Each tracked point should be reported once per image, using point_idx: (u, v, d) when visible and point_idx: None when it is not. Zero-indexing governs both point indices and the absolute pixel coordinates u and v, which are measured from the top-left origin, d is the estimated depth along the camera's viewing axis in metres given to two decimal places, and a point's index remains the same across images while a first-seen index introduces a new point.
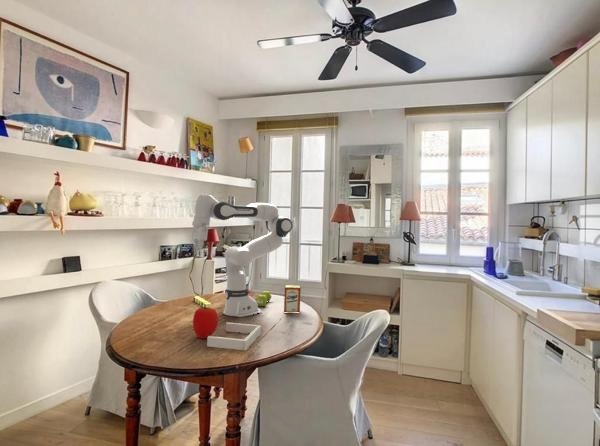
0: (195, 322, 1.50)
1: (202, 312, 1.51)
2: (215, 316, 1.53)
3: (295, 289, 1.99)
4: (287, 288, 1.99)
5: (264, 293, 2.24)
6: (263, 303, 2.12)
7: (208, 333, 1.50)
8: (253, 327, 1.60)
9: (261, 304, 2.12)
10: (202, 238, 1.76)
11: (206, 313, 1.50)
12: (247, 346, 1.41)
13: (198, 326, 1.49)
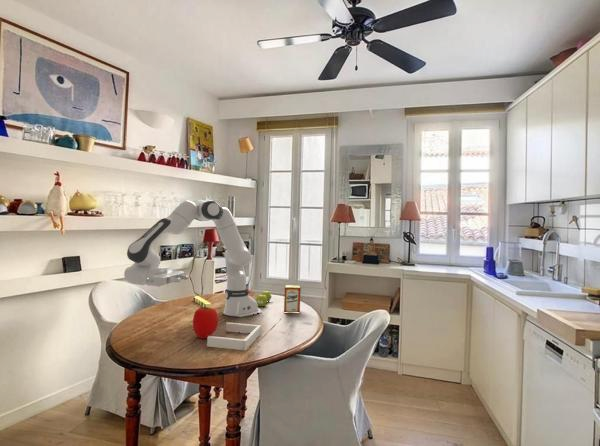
0: (195, 322, 1.50)
1: (202, 312, 1.51)
2: (215, 316, 1.53)
3: (295, 289, 1.99)
4: (287, 288, 1.99)
5: (264, 293, 2.24)
6: (263, 303, 2.12)
7: (208, 333, 1.50)
8: (253, 327, 1.60)
9: (261, 304, 2.12)
10: (160, 283, 1.48)
11: (206, 313, 1.50)
12: (247, 346, 1.41)
13: (198, 326, 1.49)
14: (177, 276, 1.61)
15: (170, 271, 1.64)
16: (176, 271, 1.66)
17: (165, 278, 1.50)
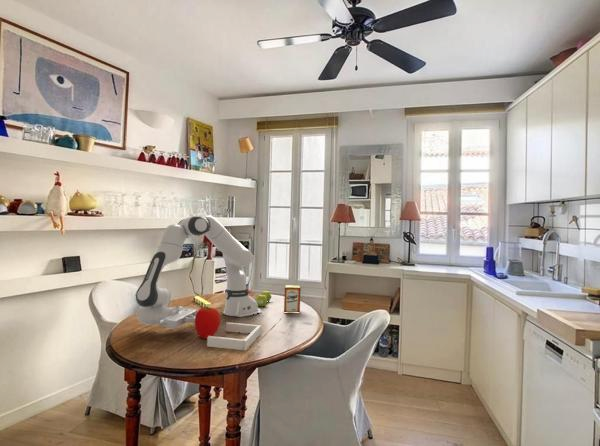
0: (197, 322, 1.50)
1: (205, 312, 1.50)
2: (217, 316, 1.53)
3: (295, 289, 1.99)
4: (287, 288, 1.99)
5: (264, 293, 2.24)
6: (263, 303, 2.12)
7: (210, 333, 1.49)
8: (253, 327, 1.60)
9: (261, 304, 2.12)
10: (173, 326, 1.46)
11: (208, 313, 1.50)
12: (247, 346, 1.41)
13: (200, 326, 1.49)
14: None
15: (182, 310, 1.63)
16: (188, 309, 1.65)
17: (178, 320, 1.49)
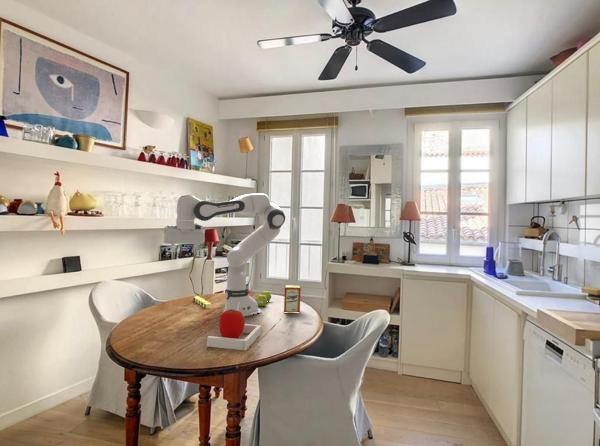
0: (223, 325, 1.47)
1: (230, 315, 1.48)
2: (243, 318, 1.51)
3: (295, 289, 1.99)
4: (287, 288, 1.99)
5: (264, 293, 2.25)
6: (263, 303, 2.12)
7: (237, 336, 1.47)
8: (253, 327, 1.60)
9: (261, 304, 2.12)
10: (164, 241, 1.69)
11: (234, 316, 1.48)
12: (247, 346, 1.41)
13: (227, 329, 1.46)
14: None
15: (197, 232, 1.74)
16: (201, 236, 1.75)
17: (169, 243, 1.68)
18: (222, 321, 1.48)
